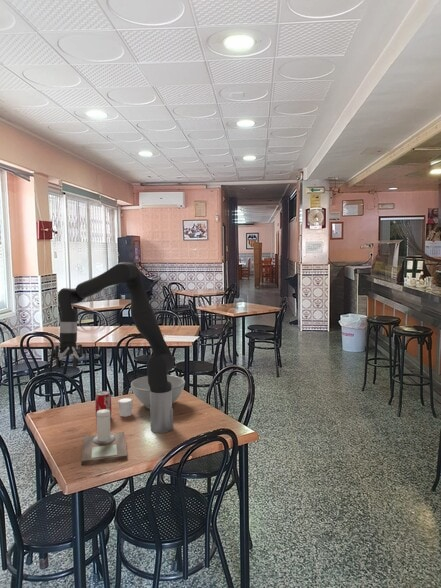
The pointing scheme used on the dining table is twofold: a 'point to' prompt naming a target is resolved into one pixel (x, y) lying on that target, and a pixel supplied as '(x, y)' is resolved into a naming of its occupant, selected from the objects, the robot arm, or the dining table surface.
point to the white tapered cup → (125, 406)
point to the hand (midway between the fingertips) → (67, 367)
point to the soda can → (103, 401)
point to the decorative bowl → (143, 388)
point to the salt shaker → (103, 425)
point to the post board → (103, 449)
